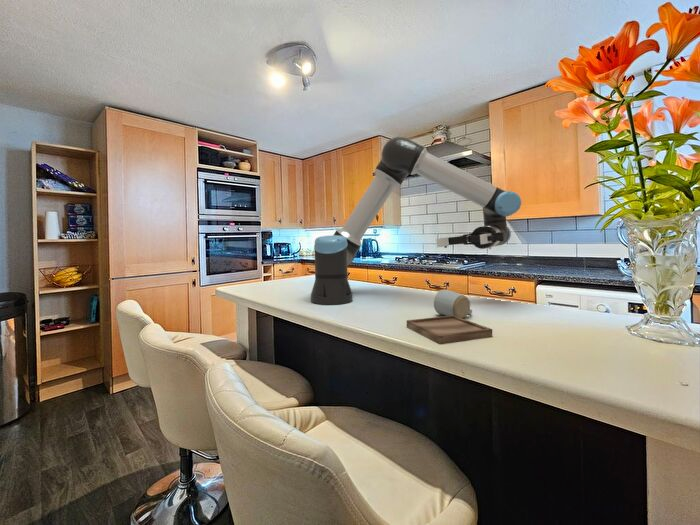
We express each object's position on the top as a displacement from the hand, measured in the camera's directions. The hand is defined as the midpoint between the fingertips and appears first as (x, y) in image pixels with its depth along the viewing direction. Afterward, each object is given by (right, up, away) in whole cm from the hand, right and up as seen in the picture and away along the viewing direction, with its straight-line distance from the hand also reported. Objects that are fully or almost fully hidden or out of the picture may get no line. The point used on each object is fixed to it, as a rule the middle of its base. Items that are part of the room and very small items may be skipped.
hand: (458, 241), depth 95 cm
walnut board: (-9, -23, -18) cm, 31 cm away
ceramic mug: (-2, -22, -3) cm, 22 cm away
